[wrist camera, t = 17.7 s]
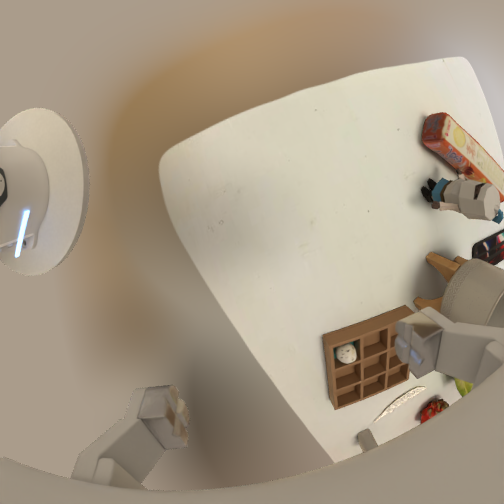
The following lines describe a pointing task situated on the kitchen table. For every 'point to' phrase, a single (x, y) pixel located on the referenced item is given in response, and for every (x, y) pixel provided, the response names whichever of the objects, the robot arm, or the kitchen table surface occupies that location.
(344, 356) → the egg
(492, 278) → the planter
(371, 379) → the compartment tray
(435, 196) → the toy
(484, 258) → the smartphone
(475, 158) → the snack package
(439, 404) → the dragon fruit
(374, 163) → the kitchen table surface
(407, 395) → the cream curved tapered piece
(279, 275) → the kitchen table surface
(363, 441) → the grey skyscraper model
